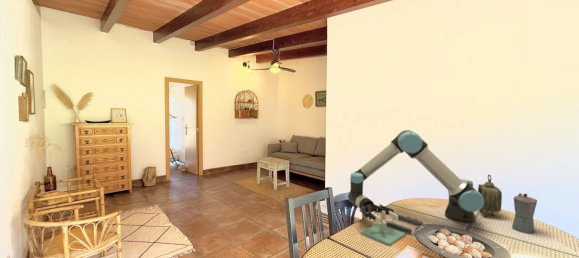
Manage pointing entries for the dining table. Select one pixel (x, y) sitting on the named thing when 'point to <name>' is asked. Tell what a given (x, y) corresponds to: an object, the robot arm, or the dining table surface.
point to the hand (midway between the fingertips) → (388, 219)
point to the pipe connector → (384, 221)
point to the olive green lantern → (490, 197)
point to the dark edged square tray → (402, 228)
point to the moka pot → (524, 213)
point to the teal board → (383, 234)
